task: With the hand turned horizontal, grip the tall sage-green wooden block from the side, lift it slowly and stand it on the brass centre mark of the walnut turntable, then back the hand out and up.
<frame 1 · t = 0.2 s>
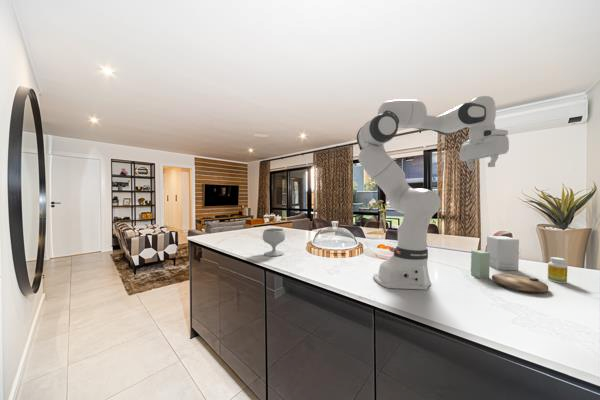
hand: (481, 168, 96), 48 cm above the counter, tool pointing down, fingers open, 8 cm apart
turntable: (518, 281, 89), point 2 cm above the counter, hinge at 0.0°
chalice: (274, 254, 138), on the counter
spindle block: (479, 276, 100), on the counter
supplement bottle: (557, 281, 94), on the counter
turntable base: (518, 285, 89), on the counter
supplement box: (501, 267, 111), on the counter
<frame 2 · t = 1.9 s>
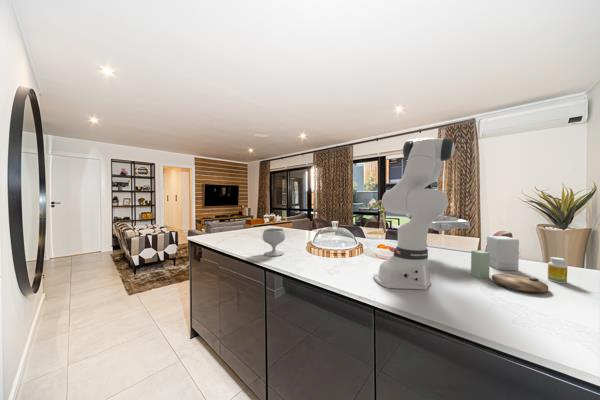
hand: (459, 226, 111), 20 cm above the counter, tool horizontal, fingers open, 8 cm apart
nothing on the counter moved.
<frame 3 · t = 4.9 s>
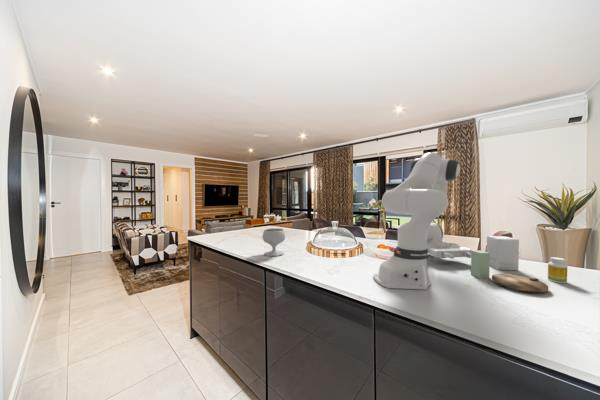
hand: (461, 256, 109), 6 cm above the counter, tool horizontal, fingers open, 8 cm apart
nothing on the counter moved.
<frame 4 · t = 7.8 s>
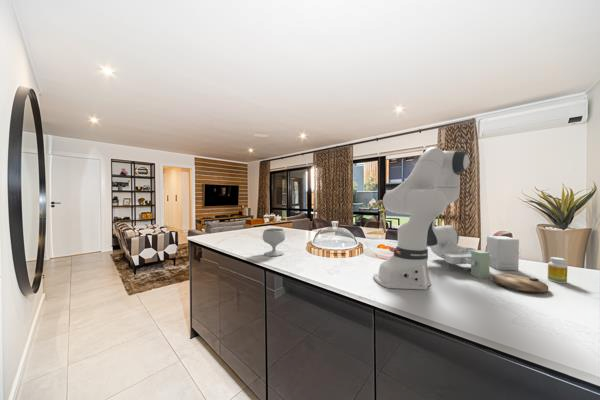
hand: (481, 263, 99), 6 cm above the counter, tool horizontal, fingers closed on spindle block, 4 cm apart
spindle block: (479, 276, 100), on the counter, touching gripper
everything else where it was.
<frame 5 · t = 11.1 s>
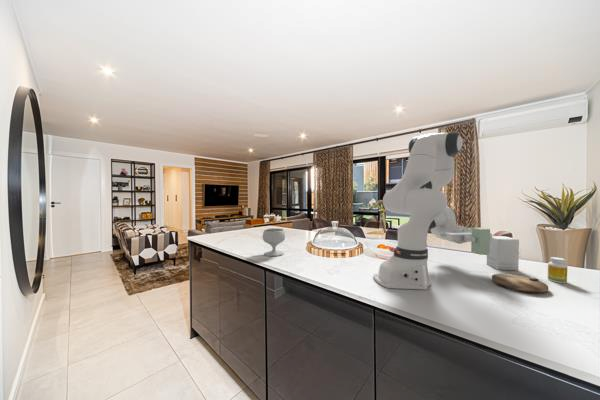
hand: (482, 240, 98), 16 cm above the counter, tool horizontal, fingers closed on spindle block, 4 cm apart
spindle block: (480, 253, 99), point 10 cm above the counter, touching gripper
everything else where it was.
when the fingers open (9 cm above the counter, at t = 14.7 s): spindle block drops 1 cm, resting on turntable.
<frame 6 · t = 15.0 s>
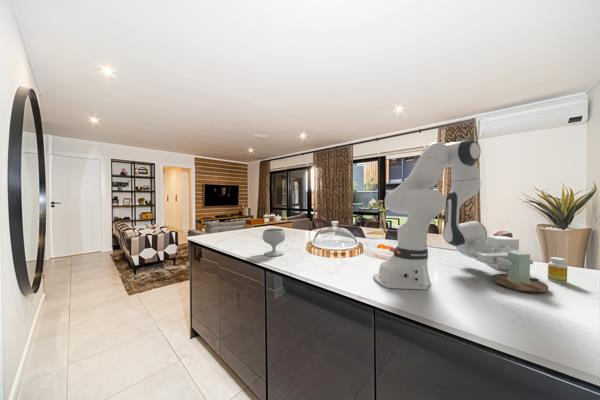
hand: (521, 262, 88), 9 cm above the counter, tool horizontal, fingers open, 8 cm apart
turntable: (518, 281, 89), point 2 cm above the counter, hinge at 0.0°, touching spindle block
spindle block: (518, 280, 89), point 2 cm above the counter, touching turntable
everything else where it was.
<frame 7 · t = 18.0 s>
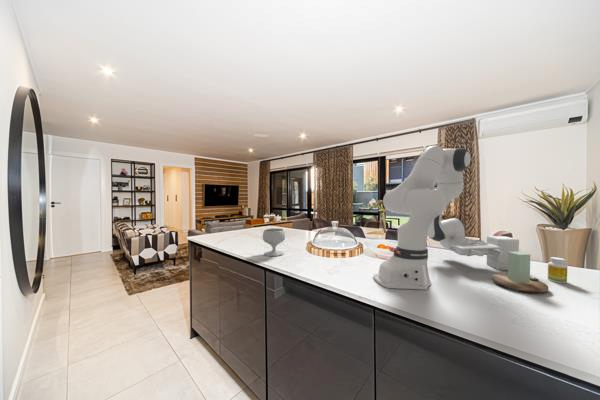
hand: (491, 254, 100), 10 cm above the counter, tool horizontal, fingers open, 8 cm apart
nothing on the counter moved.
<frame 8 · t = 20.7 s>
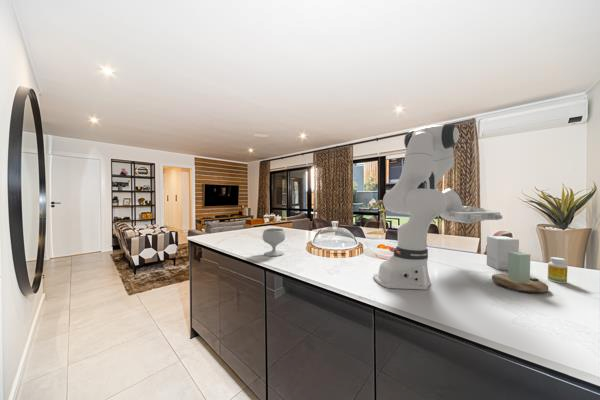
hand: (491, 217, 100), 26 cm above the counter, tool horizontal, fingers open, 8 cm apart
nothing on the counter moved.
at the end: spindle block 0.0 cm from the turntable (horizontally); spindle block tilted 0°; spindle block point 2.1 cm above the counter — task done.
